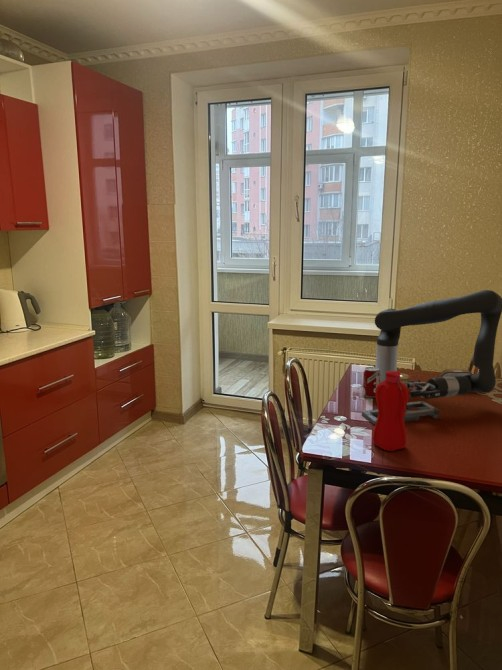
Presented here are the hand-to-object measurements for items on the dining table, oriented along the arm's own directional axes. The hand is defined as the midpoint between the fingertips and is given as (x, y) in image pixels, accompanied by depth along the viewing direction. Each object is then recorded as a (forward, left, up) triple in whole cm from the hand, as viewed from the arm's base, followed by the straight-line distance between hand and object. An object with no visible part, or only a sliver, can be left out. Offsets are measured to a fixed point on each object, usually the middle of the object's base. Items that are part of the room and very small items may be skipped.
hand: (404, 390), depth 177 cm
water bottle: (+22, -17, -10) cm, 30 cm away
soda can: (-23, -1, -10) cm, 25 cm away
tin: (-22, +39, -10) cm, 46 cm away
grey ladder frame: (0, -1, -10) cm, 10 cm away
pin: (0, -1, -10) cm, 10 cm away
